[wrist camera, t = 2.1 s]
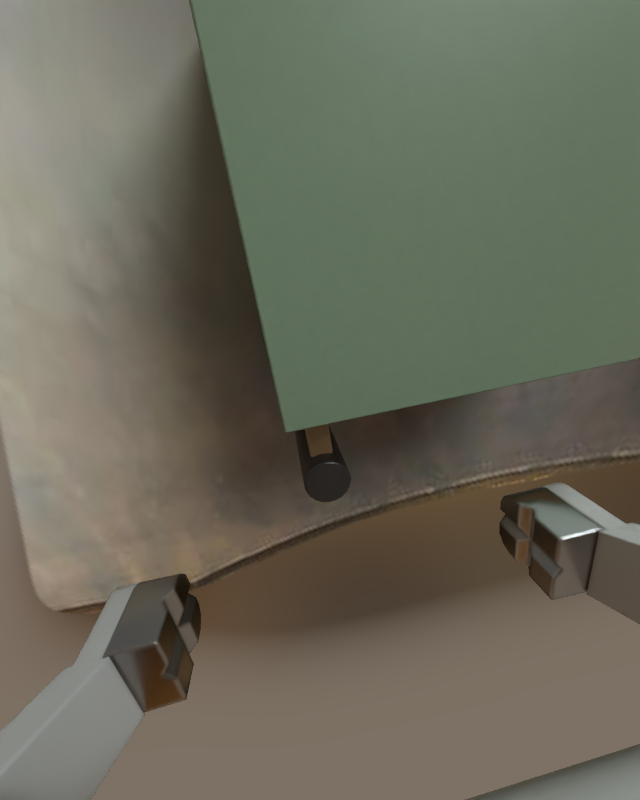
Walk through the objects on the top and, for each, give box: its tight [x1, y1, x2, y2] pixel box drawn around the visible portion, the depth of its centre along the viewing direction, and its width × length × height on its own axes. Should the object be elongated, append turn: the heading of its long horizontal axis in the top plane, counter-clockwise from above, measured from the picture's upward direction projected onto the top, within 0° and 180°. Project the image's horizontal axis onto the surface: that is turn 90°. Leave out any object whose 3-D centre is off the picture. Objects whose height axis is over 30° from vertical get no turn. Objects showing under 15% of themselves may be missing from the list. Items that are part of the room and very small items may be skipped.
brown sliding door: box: [295, 424, 351, 502], centre depth 14 cm, size 4×8×8 cm, turn 99°
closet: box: [189, 0, 640, 433], centre depth 11 cm, size 14×16×10 cm
